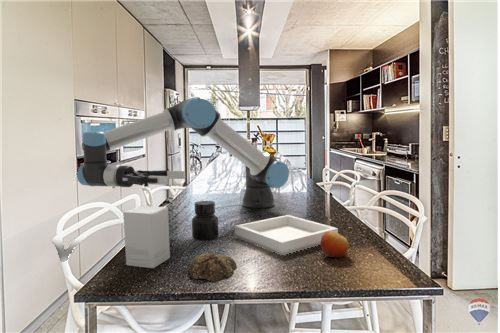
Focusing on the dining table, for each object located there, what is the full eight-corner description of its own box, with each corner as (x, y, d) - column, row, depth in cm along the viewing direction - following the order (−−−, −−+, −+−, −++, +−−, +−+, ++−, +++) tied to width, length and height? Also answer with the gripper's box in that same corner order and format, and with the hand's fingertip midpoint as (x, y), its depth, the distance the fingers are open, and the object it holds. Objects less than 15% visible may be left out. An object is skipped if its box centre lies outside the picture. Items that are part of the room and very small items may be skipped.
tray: (287, 225, 143) (287, 214, 143) (337, 240, 124) (337, 228, 124) (235, 237, 129) (234, 225, 129) (282, 256, 110) (282, 242, 109)
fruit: (310, 247, 113) (324, 224, 113) (333, 259, 114) (346, 236, 114) (318, 256, 105) (332, 231, 105) (341, 269, 106) (356, 245, 106)
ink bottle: (220, 233, 134) (219, 199, 132) (219, 241, 125) (218, 205, 124) (192, 234, 133) (191, 200, 132) (189, 241, 124) (188, 205, 123)
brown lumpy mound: (194, 263, 106) (193, 245, 106) (238, 264, 105) (238, 246, 104) (181, 281, 93) (181, 262, 93) (231, 283, 92) (231, 263, 92)
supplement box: (171, 257, 110) (169, 206, 108) (153, 269, 101) (151, 213, 100) (144, 254, 113) (142, 204, 111) (124, 265, 104) (122, 211, 102)
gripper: (139, 181, 147) (190, 183, 142) (99, 192, 122) (159, 195, 117) (138, 162, 146) (190, 163, 141) (98, 169, 122) (159, 170, 117)
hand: (176, 177), depth 129 cm, fingers open, 13 cm apart
